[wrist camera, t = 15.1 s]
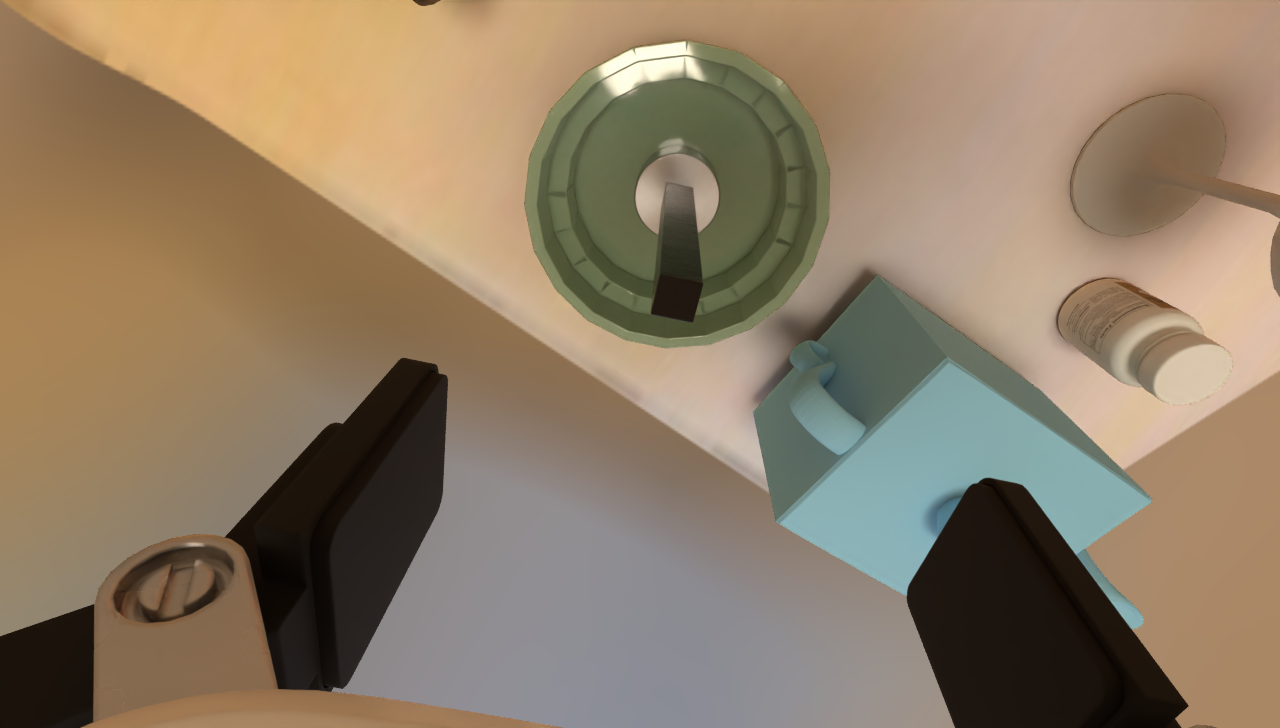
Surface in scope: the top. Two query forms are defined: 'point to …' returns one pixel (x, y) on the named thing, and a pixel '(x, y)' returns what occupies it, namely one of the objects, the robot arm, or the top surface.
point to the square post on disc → (677, 224)
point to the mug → (425, 2)
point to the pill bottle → (1144, 341)
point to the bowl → (746, 172)
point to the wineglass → (1159, 169)
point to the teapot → (923, 443)
